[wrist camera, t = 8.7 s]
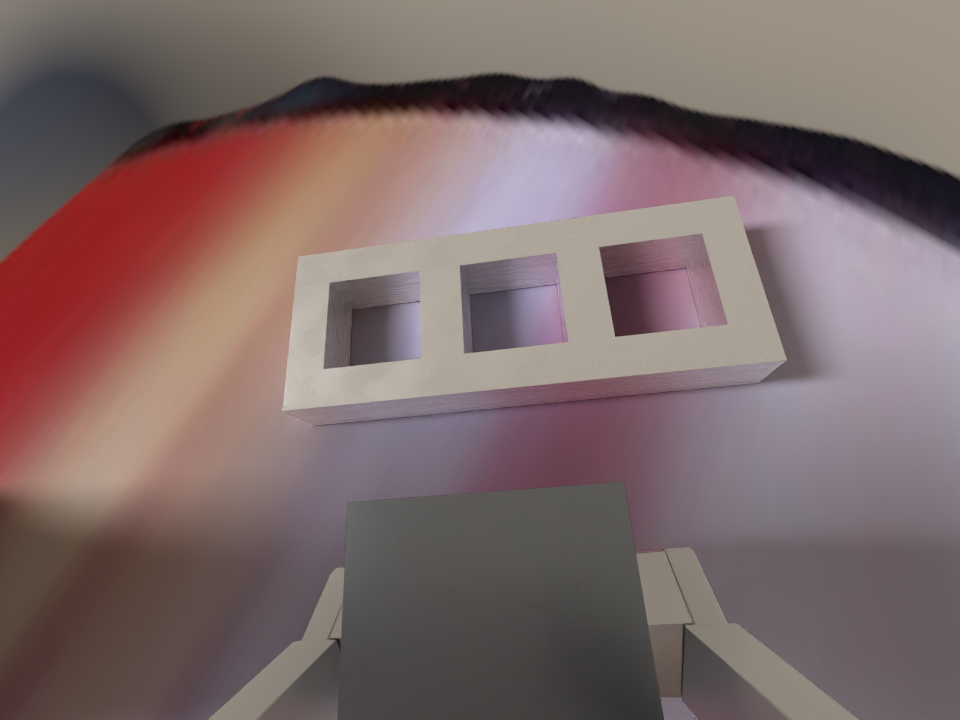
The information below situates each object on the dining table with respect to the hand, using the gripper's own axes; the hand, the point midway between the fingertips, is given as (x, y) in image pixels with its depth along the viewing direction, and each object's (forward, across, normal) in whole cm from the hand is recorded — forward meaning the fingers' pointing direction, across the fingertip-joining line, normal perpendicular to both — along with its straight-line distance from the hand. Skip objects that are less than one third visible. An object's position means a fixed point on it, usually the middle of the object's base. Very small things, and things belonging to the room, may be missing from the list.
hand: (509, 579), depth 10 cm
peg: (+3, 0, +4) cm, 4 cm away
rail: (+21, 0, +2) cm, 21 cm away
